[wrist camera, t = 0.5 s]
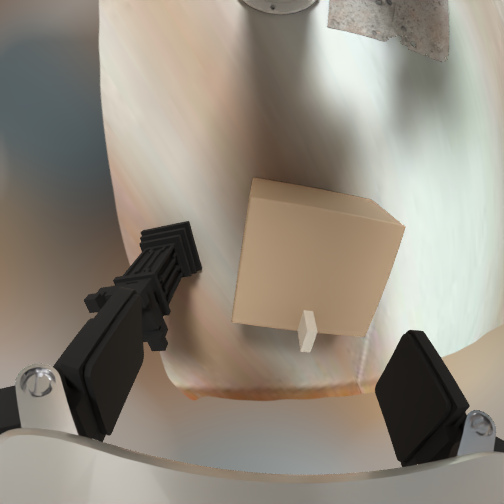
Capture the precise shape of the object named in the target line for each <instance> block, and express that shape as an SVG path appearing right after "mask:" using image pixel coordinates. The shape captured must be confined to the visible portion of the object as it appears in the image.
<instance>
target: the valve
mask: <svg viewBox="0 0 504 504" xmlns="http://www.w3.org/2000/svg"><path fill="white" fill-rule="evenodd" d="M328 27H331V28H336V29H340V30H344V31H348V32H352V33H356V34H360V35H364V36H368V37H371V38H375V39H378V40H381V41H384V42H385V41H387V40H388V39H389V38H392V37H396V35H398V36H401V37H402V38H401V44H402V45H406V46H407V47H408V50H411V51H414V52H417V53H419V54H422V55H424V56H428V57H429V58H432V59H434V60H437V61H440V62H442V61H446V60H448V59H447V56H448V52H449V13H448V0H330V3H329V16H328ZM405 36H407V37H405ZM388 37H389V38H388ZM412 41H413V42H414V43H415V45H416V46H415V47H414V46H412V45H411V44H410V42H412ZM426 54H427V55H426ZM445 57H446V59H445Z"/></svg>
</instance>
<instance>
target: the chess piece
mask: <svg viewBox="0 0 504 504" xmlns="http://www.w3.org/2000/svg"><path fill="white" fill-rule="evenodd" d="M141 235H142V237H141V238H140V239H141V243H140V247H141V250H142V253H141V254H140V255H139V257H138V258H137V259H136V260H135V261H134V263H133V264H132V265H131V266H130V267H129V269H128V270H127V271H126V272H125V274H124V275H123V276H120V277H116V278H115V279H114V280H113V281H114V284H115V286H111V287H104V288H100V289H99V291H98V292H97V293H96V294H89V295H88V296H87V297H86V298H85V299H84V302H85V304H86V306H87V308H88V310H89V312H90V313H92V312H93V313H94V312H99V311H100V310H101V308H102V307H103V306H104V305H105V304H106V302H107V301H108V300H109V299H110V297H111V296H112V295H113V294H114V292H115V291H116V290H117V289H118V288H119V287H124V288H129V289H133V290H136V292H137V295H140V296H141V302H142V332H143V342H148V344H149V346H150V348H151V350H152V351H165V350H166V347H167V345H168V342H167V340H166V338H165V336H166V333H167V331H168V328H167V326H166V324H165V321H164V319H163V316H164V315H169V314H170V312H171V311H170V308H169V303H170V301H171V299H172V297H173V295H174V292H175V290H176V288H177V286H178V284H179V282H180V280H181V278H182V277H188V276H191V275H192V274H193V273H196V272H197V271H199V270H201V269H202V266H201V262H200V259H199V255H198V252H197V248H196V245H195V241H194V237H193V234H192V230H191V226H190V223H189V221H187V222H182V223H177V224H172V225H167V226H162V227H157V228H152V229H148V230H143V231H142V232H141Z"/></svg>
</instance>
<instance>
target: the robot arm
mask: <svg viewBox="0 0 504 504" xmlns="http://www.w3.org/2000/svg"><path fill="white" fill-rule="evenodd" d="M243 1H244V2H245V3H246V4H248V5H249V6H251V7H253V8H255V9H257V10H260V11H263V12H266V13H272V14H291V13H295V12H299V11H301V10H304V9H306V8H308V7H309V6H311V5H312V4H313V3H314V2H315V1H316V0H243ZM271 8H274V10H272V9H271ZM143 358H144V350H143V332H142V302H141V296H140V295H137V292H136V290H133V289H129V288H124V287H119V288H118V289H117V290H116V291H115V292H114V294H113V295H112V296H111V297H110V299H109V300H108V301H107V302H106V304H105V305H104V306H103V307H102V308H101V310H100V311H99V312H98V314H97V315H96V316H95V318H92V319H90V320H88V321H87V323H86V324H85V325H84V327H83V328H82V329H81V330H80V332H79V333H78V334H77V335H76V337H75V338H74V339H73V341H72V342H71V343H70V345H69V346H68V347H67V348H66V350H65V351H64V352H63V354H62V355H61V357H60V358H59V359H58V361H57V362H56V363H55V365H54V366H53V367H51V366H49V365H47V364H42V363H41V364H32V365H29V366H27V367H25V368H24V369H22V370H21V371H20V373H19V374H18V376H17V378H16V382H15V386H11V387H6V388H2V389H0V504H504V441H503V440H501V439H500V438H498V437H496V426H495V424H494V421H493V420H492V418H491V417H490V416H489V415H488V414H486V413H484V412H482V411H479V410H474V411H471V412H470V413H468V415H466V413H465V411H466V410H467V409H468V408H469V404H468V402H467V400H466V398H465V397H464V395H463V393H462V391H461V390H460V389H459V387H458V385H457V383H456V381H455V380H454V378H453V376H452V375H451V373H450V372H449V370H448V368H447V367H446V365H445V364H444V362H443V360H442V359H441V357H440V356H439V354H438V353H437V351H436V349H435V348H434V346H433V345H432V343H431V342H430V340H429V339H428V337H427V336H426V334H425V333H424V332H423V331H416V330H409V331H407V332H406V334H404V335H403V336H402V337H401V339H400V341H399V343H398V345H397V347H396V349H395V351H394V353H393V355H392V357H391V359H390V361H389V363H388V364H387V366H386V368H385V370H384V372H383V373H382V375H381V377H380V379H379V381H378V382H377V384H376V387H375V393H376V396H377V399H378V402H379V405H380V408H381V411H382V414H383V416H384V419H385V422H386V426H387V429H388V432H389V435H390V438H391V441H392V444H393V447H394V450H395V454H396V457H397V460H398V461H400V462H401V465H402V467H401V468H395V469H388V470H379V471H371V472H360V473H347V474H326V475H288V474H266V473H253V472H242V471H233V470H225V469H218V468H211V467H205V466H199V465H193V464H188V463H182V462H177V461H173V460H168V459H164V458H159V457H155V456H151V455H147V454H143V453H139V452H135V451H131V450H128V449H124V448H121V447H118V446H114V445H111V444H107V443H103V440H104V437H105V435H111V433H112V431H113V429H114V426H115V424H116V422H117V419H118V417H119V415H120V412H121V410H122V408H123V406H124V403H125V401H126V399H127V396H128V394H129V392H130V390H131V387H132V385H133V383H134V381H135V379H136V376H137V374H138V372H139V370H140V367H141V365H142V363H143ZM92 438H93V439H92ZM94 439H95V440H94ZM97 440H98V441H97ZM100 441H101V442H100ZM417 464H418V465H417Z"/></svg>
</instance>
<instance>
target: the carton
mask: <svg viewBox="0 0 504 504" xmlns="http://www.w3.org/2000/svg"><path fill="white" fill-rule="evenodd" d="M251 197H257V198H264V199H270V200H276V201H283V202H289V203H294V204H300V205H306V206H312V207H317V208H323V209H328V210H333V211H339V212H344V213H349V214H354V215H359V216H364V217H369V218H374V219H378V220H383V221H388V222H392V223H397V224H401V223H400V222H399V221H397V220H396V219H395V218H394V217H393V216H391V215H390V214H389V213H388V212H386V211H385V210H384V209H383V208H382V207H380V206H379V205H378V204H376V203H375V202H374V201H373V200H371V199H366V198H362V197H357V196H353V195H348V194H343V193H338V192H333V191H328V190H323V189H318V188H312V187H307V186H302V185H296V184H290V183H284V182H279V181H272V180H266V179H260V178H253V180H252V185H251V190H250V196H249V202H248V209H247V215H246V222H245V229H244V236H243V242H242V249H241V256H240V263H239V270H238V277H237V284H236V291H235V298H234V305H233V312H232V319H231V322H233V316H234V309H235V302H236V295H237V289H238V282H239V275H240V268H241V261H242V255H243V248H244V241H245V235H246V228H247V221H248V215H249V208H250V202H251Z"/></svg>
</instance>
